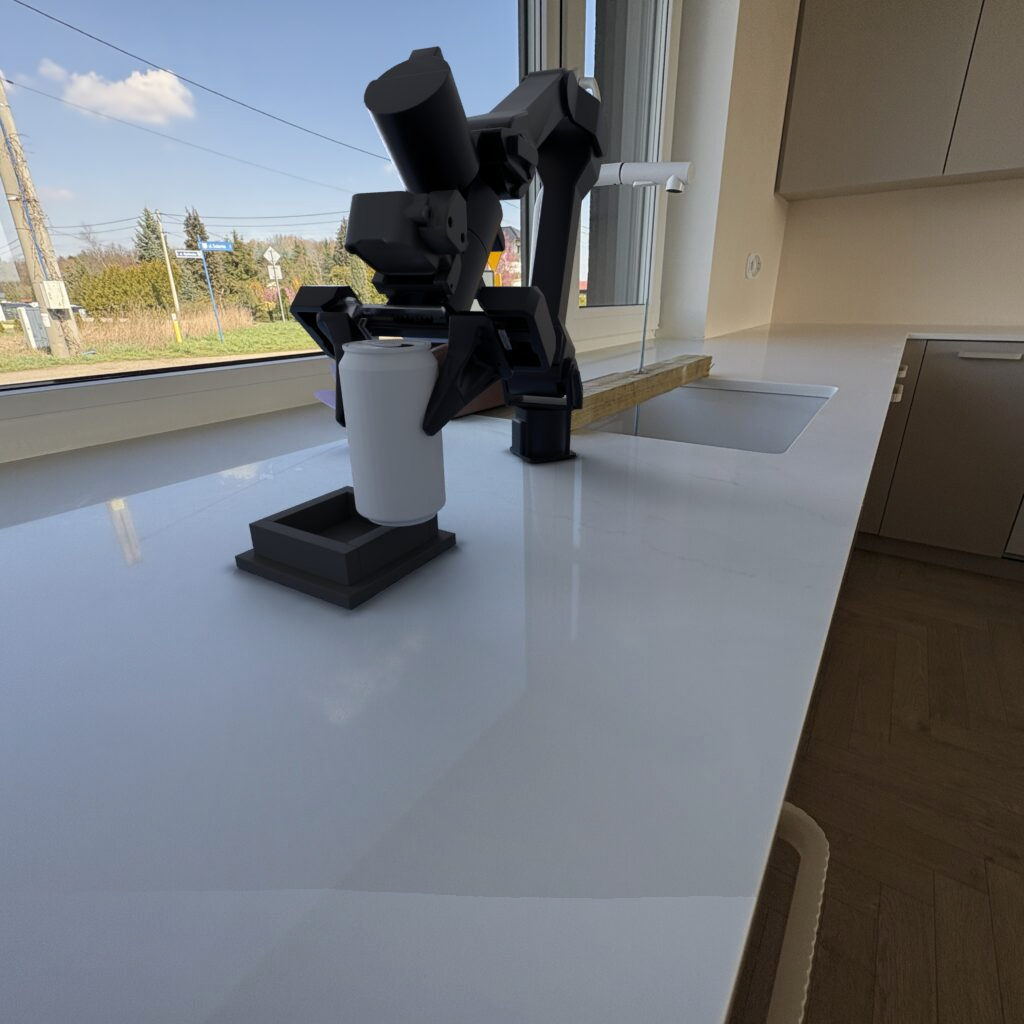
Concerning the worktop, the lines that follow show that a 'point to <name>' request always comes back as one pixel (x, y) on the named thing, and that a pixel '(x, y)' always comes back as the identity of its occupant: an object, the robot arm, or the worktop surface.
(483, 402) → the letter holder
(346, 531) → the socket pad
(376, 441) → the beverage can
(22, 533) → the worktop surface
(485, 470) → the worktop surface
